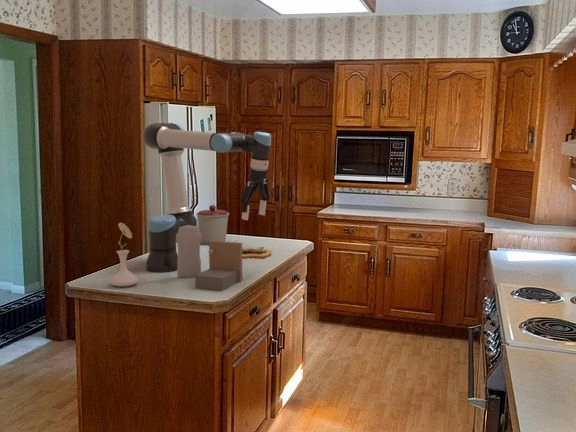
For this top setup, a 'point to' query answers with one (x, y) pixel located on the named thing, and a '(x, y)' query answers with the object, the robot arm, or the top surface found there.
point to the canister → (212, 224)
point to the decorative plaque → (254, 252)
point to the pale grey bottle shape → (188, 251)
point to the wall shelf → (222, 266)
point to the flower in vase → (123, 263)
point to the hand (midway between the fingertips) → (253, 217)
